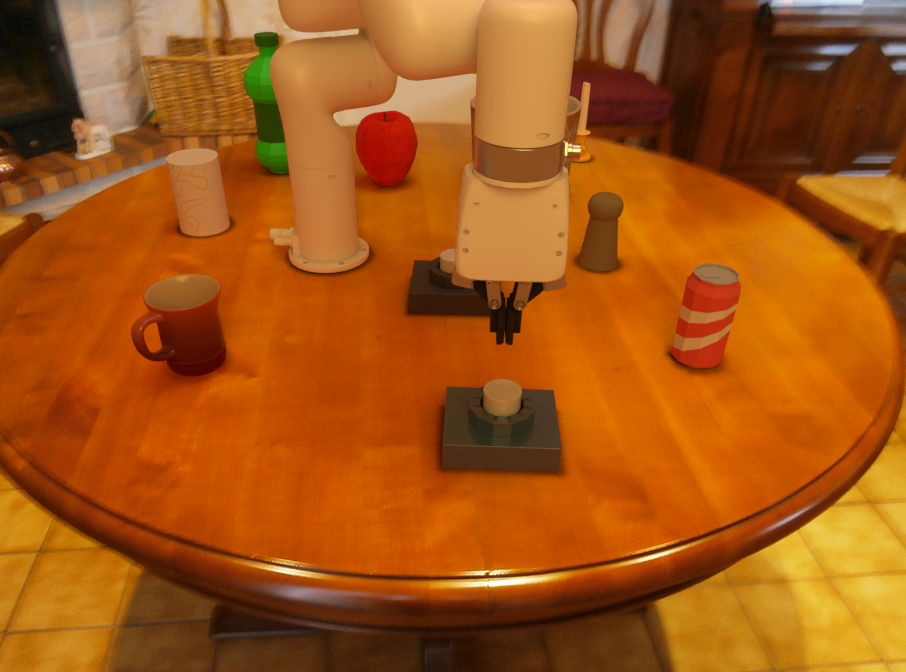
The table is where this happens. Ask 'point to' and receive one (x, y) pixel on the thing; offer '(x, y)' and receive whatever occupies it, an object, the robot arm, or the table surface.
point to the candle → (583, 123)
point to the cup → (198, 191)
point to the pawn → (601, 232)
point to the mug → (184, 324)
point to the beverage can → (706, 315)
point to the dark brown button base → (441, 292)
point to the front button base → (501, 433)
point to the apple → (386, 146)
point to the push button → (447, 260)
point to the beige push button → (502, 397)
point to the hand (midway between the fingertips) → (504, 337)
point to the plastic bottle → (266, 106)
